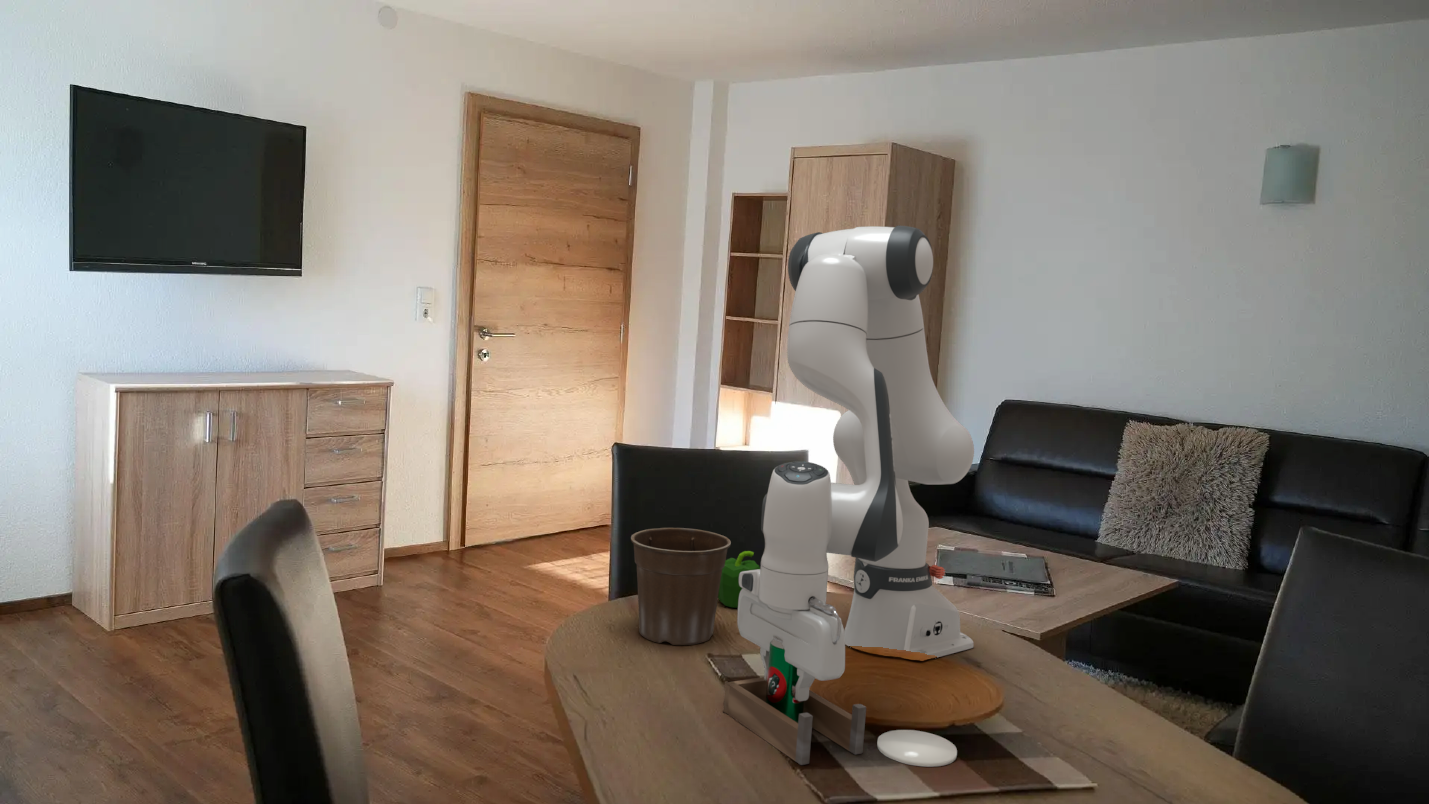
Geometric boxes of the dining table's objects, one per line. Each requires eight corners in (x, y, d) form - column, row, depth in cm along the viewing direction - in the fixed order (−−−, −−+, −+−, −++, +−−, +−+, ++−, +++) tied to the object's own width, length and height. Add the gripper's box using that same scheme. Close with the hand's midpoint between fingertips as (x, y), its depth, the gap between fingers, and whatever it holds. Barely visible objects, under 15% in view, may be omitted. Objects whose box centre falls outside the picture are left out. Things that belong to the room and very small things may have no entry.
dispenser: (781, 702, 155) (784, 660, 155) (862, 753, 140) (866, 707, 139) (723, 711, 151) (726, 668, 150) (800, 765, 135) (804, 717, 134)
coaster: (920, 729, 149) (921, 725, 148) (973, 759, 140) (973, 754, 140) (861, 740, 143) (861, 736, 143) (912, 772, 135) (912, 767, 135)
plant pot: (666, 657, 171) (673, 554, 170) (605, 628, 183) (611, 532, 182) (744, 640, 182) (751, 544, 180) (682, 615, 194) (687, 524, 192)
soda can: (799, 734, 144) (806, 644, 143) (761, 729, 145) (767, 639, 144) (804, 720, 149) (811, 633, 148) (767, 714, 150) (773, 628, 149)
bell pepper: (707, 607, 199) (711, 553, 198) (717, 596, 207) (721, 543, 206) (753, 613, 198) (757, 558, 197) (762, 601, 206) (765, 548, 205)
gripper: (861, 607, 138) (853, 715, 139) (770, 567, 155) (764, 663, 157) (820, 612, 134) (812, 722, 136) (732, 570, 152) (725, 668, 153)
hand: (785, 690), depth 146 cm, fingers closed on soda can, 5 cm apart
